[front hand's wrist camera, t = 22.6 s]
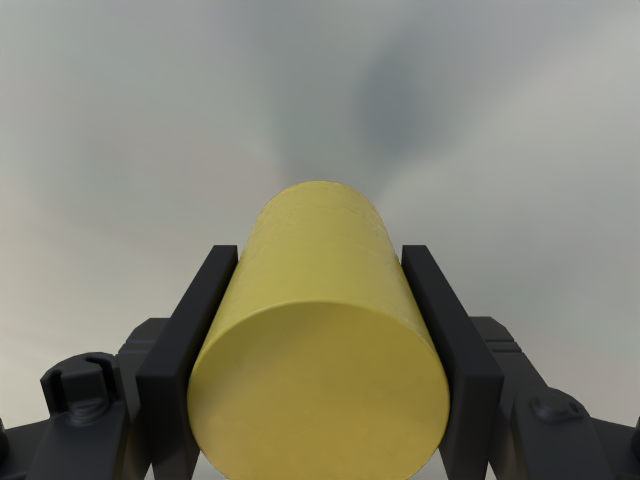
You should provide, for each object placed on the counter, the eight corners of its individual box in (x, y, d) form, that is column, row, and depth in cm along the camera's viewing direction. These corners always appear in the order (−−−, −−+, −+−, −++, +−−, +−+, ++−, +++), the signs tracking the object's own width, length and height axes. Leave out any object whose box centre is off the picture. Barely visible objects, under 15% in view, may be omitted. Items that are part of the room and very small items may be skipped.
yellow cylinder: (378, 308, 18) (429, 514, 10) (251, 301, 18) (190, 503, 10) (394, 184, 16) (475, 307, 8) (252, 176, 16) (177, 290, 8)
